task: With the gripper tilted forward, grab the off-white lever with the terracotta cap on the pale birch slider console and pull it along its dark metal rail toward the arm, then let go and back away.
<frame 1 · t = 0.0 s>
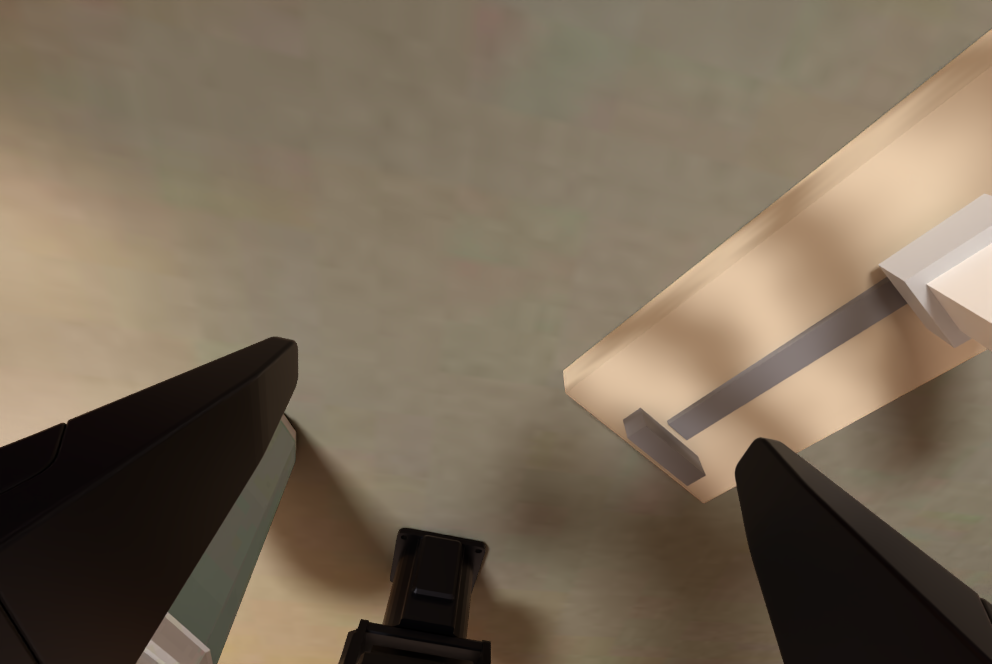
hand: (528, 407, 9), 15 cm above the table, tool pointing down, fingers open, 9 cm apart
disposable coffee cup: (246, 426, 30), on the table
slider console: (824, 298, 23), on the table
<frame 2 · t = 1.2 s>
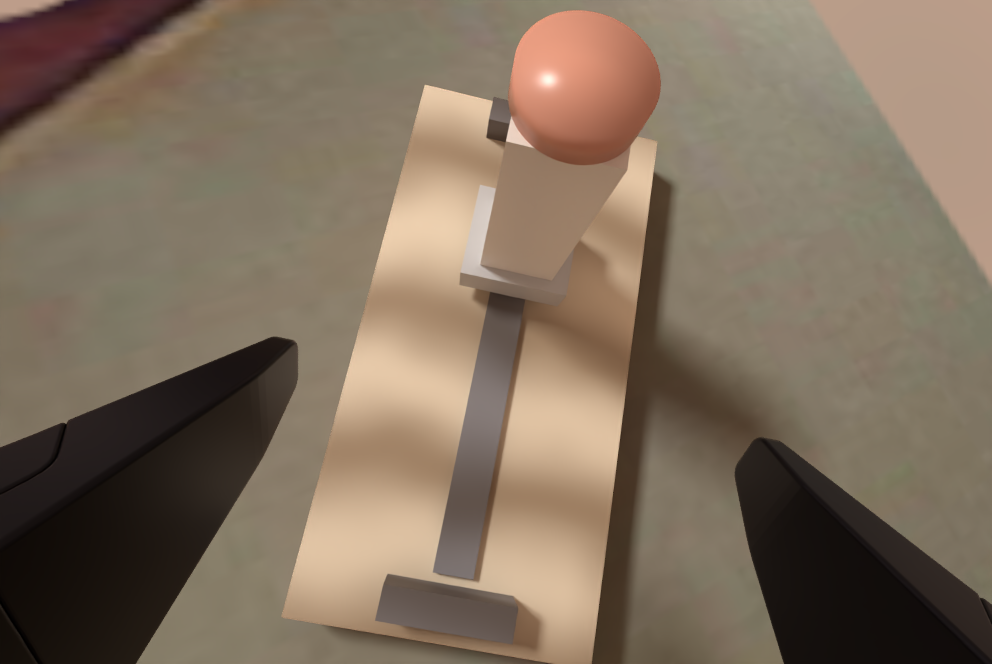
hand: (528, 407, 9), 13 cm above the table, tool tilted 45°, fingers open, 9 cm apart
slider lever: (540, 193, 16), point 8 cm above the table, slide at 0.0 cm
slider console: (493, 351, 23), on the table
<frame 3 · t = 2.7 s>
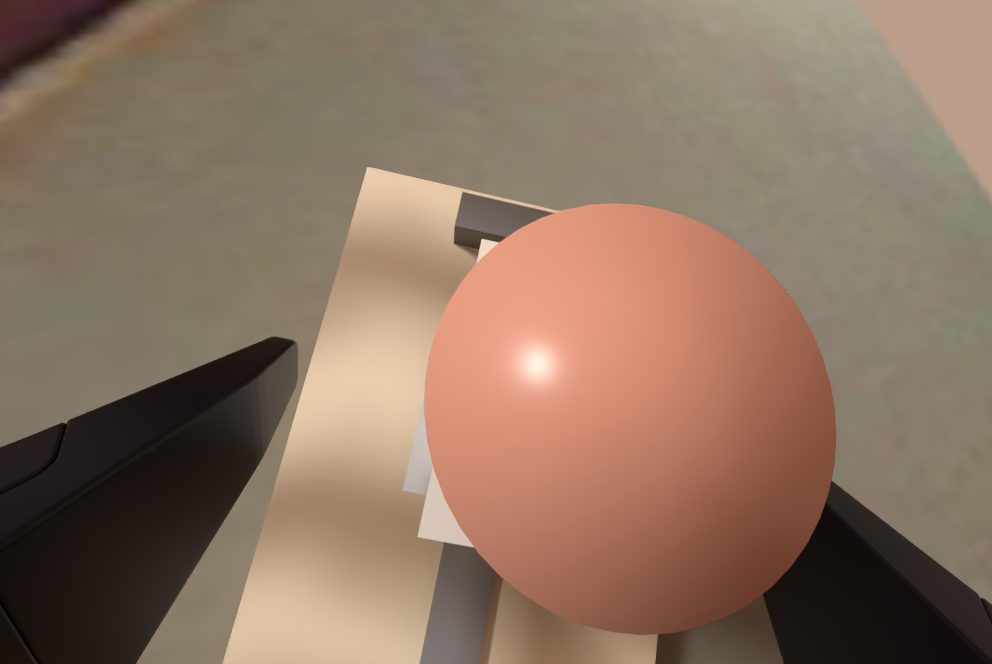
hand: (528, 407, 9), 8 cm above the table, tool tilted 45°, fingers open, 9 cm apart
slider lever: (524, 423, 9), point 8 cm above the table, slide at 0.0 cm
slider console: (463, 551, 16), on the table
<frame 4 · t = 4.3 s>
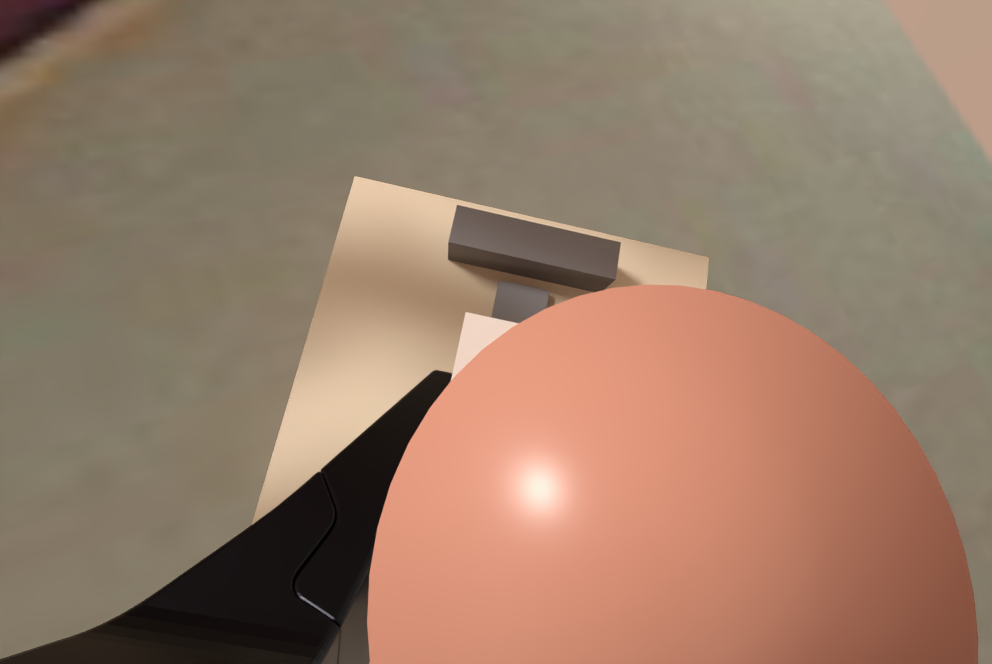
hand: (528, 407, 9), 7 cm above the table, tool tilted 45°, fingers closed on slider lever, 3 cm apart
slider lever: (524, 486, 8), point 8 cm above the table, slide at 0.0 cm, touching gripper
slider console: (458, 593, 15), on the table
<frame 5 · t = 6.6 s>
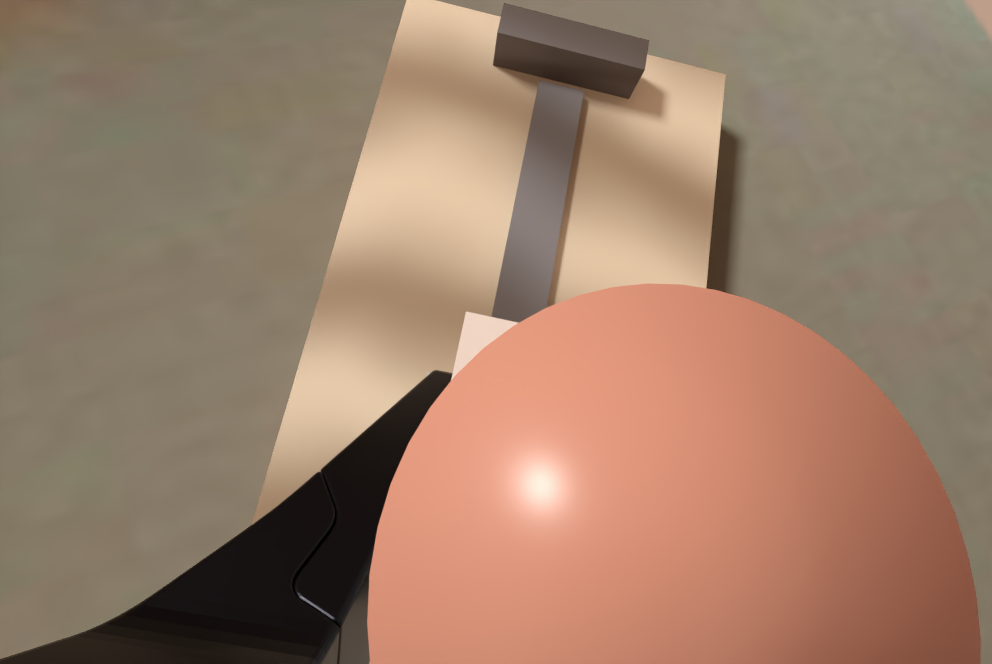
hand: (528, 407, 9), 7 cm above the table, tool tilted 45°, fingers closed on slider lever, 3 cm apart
slider lever: (524, 486, 8), point 8 cm above the table, slide at 7.5 cm, touching gripper
slider console: (503, 360, 16), on the table
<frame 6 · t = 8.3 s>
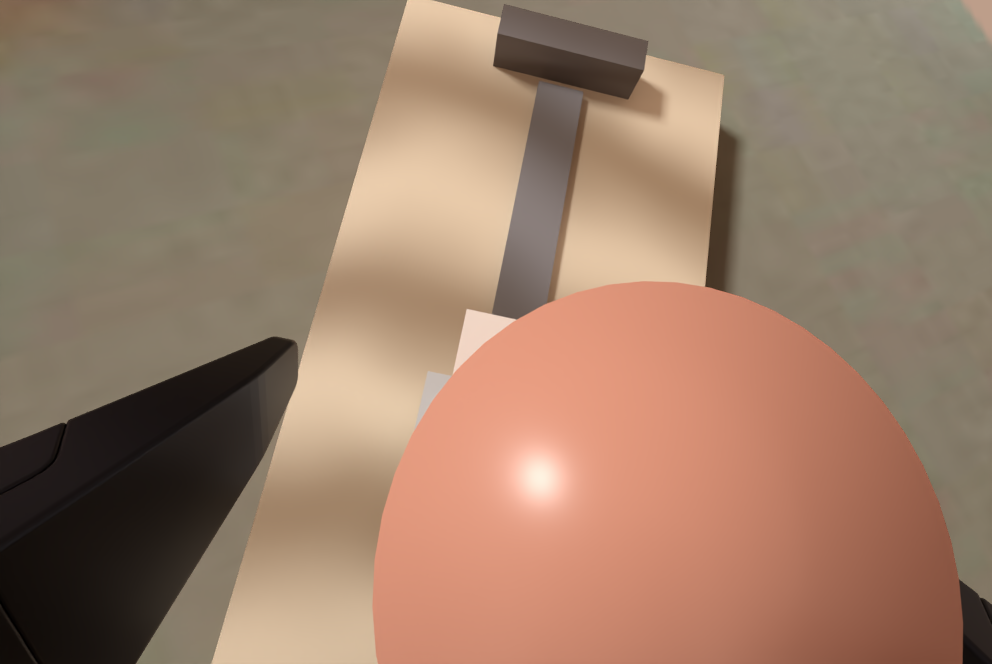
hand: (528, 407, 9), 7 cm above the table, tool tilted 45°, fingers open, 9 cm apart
slider lever: (524, 483, 8), point 8 cm above the table, slide at 7.5 cm
slider console: (503, 359, 17), on the table
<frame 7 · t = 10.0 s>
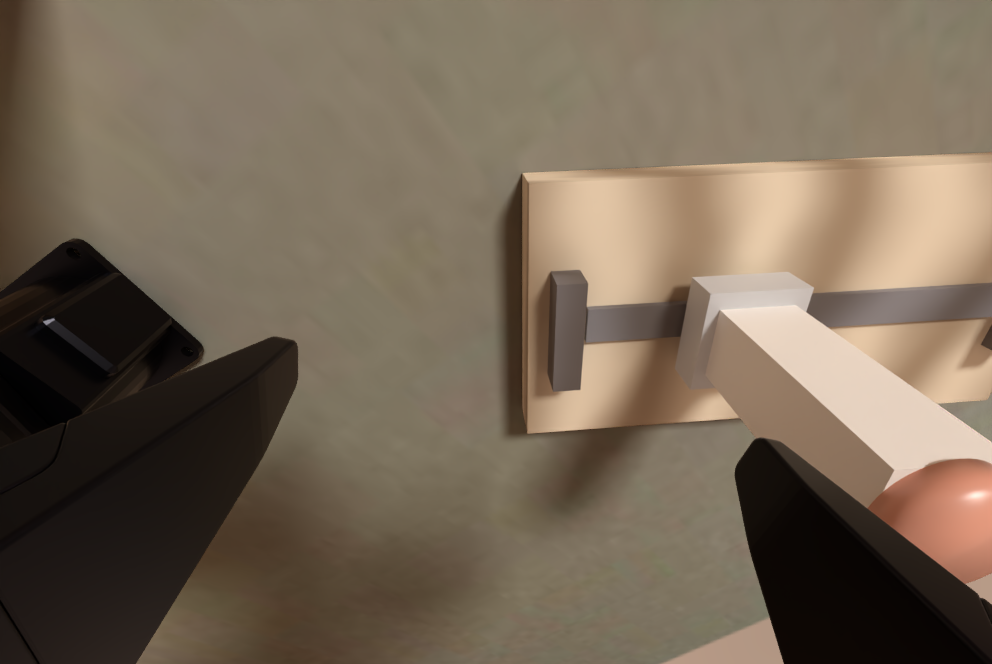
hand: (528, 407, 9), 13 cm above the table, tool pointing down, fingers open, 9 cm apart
slider lever: (811, 400, 15), point 8 cm above the table, slide at 7.5 cm
slider console: (770, 291, 23), on the table
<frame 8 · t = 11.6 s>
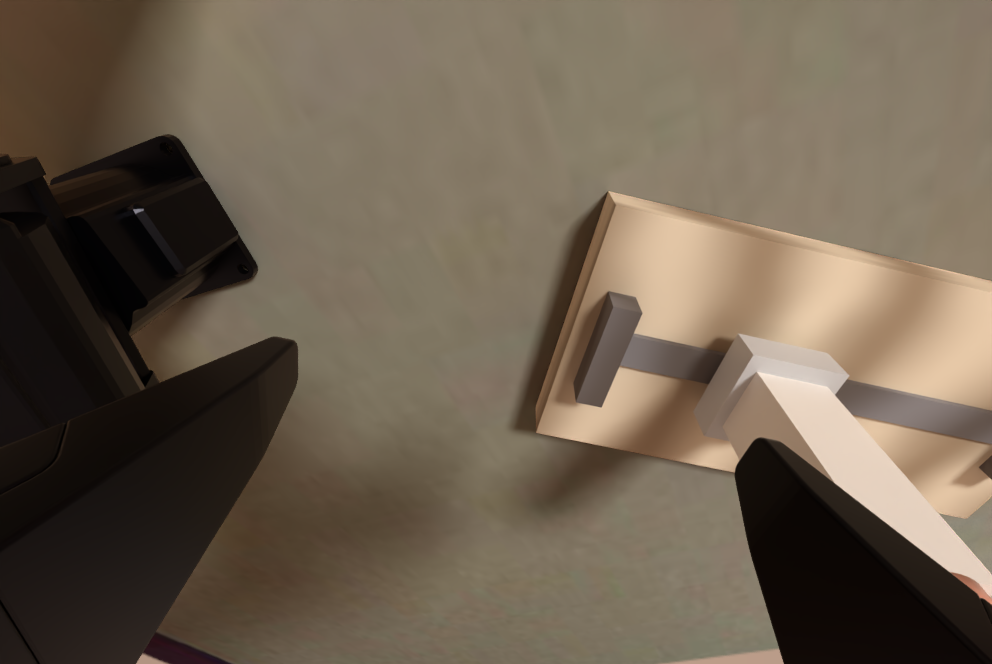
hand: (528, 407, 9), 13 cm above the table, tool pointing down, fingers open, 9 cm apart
slider lever: (821, 479, 16), point 8 cm above the table, slide at 7.5 cm
slider console: (800, 364, 24), on the table
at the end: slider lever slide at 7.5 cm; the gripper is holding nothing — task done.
